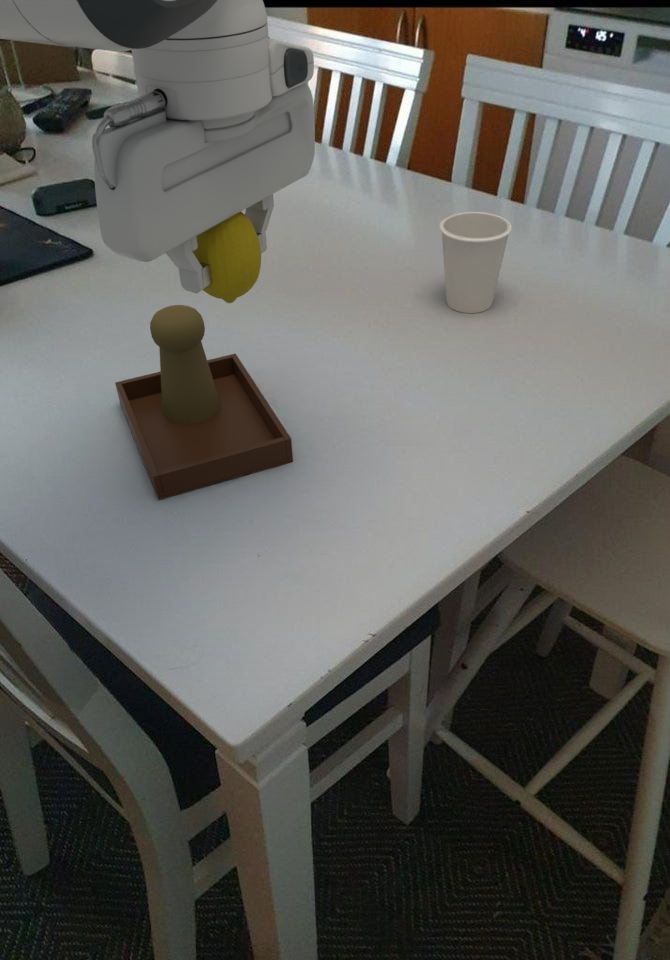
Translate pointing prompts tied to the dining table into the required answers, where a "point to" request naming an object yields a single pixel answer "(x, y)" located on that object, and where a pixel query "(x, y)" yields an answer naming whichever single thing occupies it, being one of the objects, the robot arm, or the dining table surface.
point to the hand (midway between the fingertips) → (226, 270)
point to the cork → (184, 365)
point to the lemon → (230, 257)
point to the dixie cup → (473, 258)
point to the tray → (205, 432)
